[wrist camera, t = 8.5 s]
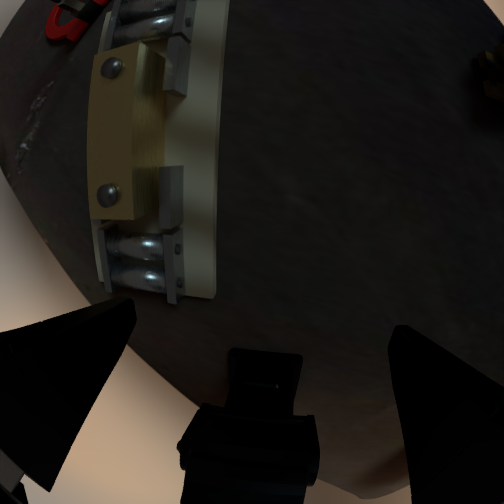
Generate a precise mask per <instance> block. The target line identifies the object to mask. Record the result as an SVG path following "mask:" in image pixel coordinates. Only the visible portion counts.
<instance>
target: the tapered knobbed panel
mask: <svg viewBox="0 0 504 504" xmlns="http://www.w3.org/2000/svg"><path fill="white" fill-rule="evenodd" d="M165 62H166V58H164V57H163V56H161V55H160V54H158V53H157V52H155V51H154V50H152V49H151V48H149V47H148V46H146V45H145V44H143V43H142V42H140V41H139V42H135V43H132V44H128V45H125V46H121V47H118V48H115V49H112V50H108V51H105V52H103V53H100V54H97V55H95V56H94V63H93V69H92V77H91V86H90V96H89V108H88V126H87V178H88V197H89V210H90V219H112V220H135V219H137V218H140V217H142V216H144V215H146V214H148V213H151V212H153V211H155V210H158V209H159V167H162V166H165V117H166V98H167V92H164V91H163V80H164V70H165Z"/></svg>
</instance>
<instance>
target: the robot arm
mask: <svg viewBox="0 0 504 504" xmlns="http://www.w3.org/2000/svg"><path fill="white" fill-rule="evenodd" d="M136 321H137V317H136V311H135V305H134V301H133V299H132V298H131V297H126V296H120V297H117V298H114V299H110V300H107V301H104V302H101V303H98V304H95V305H91V306H89V307H85V308H82V309H79V310H76V311H72V312H69V313H66V314H63V315H60V316H57V317H53V318H50V319H47V320H44V321H43V322H38V323H34V324H31V325H27V326H24V327H21V328H17V329H13V330H9V331H5V332H0V504H28V500H27V496H26V493H25V489H24V485H23V484H22V483H21V482H20V480H21V479H22V477H23V475H24V474H25V475H26V476H28V477H29V478H30V479H32V480H33V481H34V482H35V483H37V484H38V485H39V486H41V487H42V488H44V489H45V490H46V491H48V492H50V491H51V489H52V487H53V485H54V483H55V480H56V478H57V476H58V474H59V471H60V469H61V467H62V465H63V463H64V461H65V459H66V457H67V455H68V453H69V451H70V449H71V446H72V444H73V442H74V440H75V438H76V436H77V434H78V432H79V431H80V429H81V427H82V425H83V423H84V421H85V419H86V417H87V415H88V413H89V411H90V410H91V408H92V406H93V404H94V402H95V401H96V399H97V397H98V395H99V393H100V392H101V390H102V388H103V386H104V384H105V383H106V381H107V379H108V377H109V375H110V374H111V372H112V371H113V369H114V367H115V365H116V364H117V362H118V360H119V358H120V357H121V355H122V352H123V351H124V348H125V346H126V344H127V342H128V340H129V337H130V335H131V333H132V331H133V329H134V327H135V325H136ZM234 353H237V354H234ZM388 356H389V363H390V370H391V378H392V385H393V390H394V395H395V399H396V404H397V408H398V413H399V418H400V423H401V428H402V433H403V439H404V445H405V451H406V457H407V464H408V471H409V479H410V488H411V495H412V496H411V500H412V504H504V387H503V386H501V385H500V384H498V383H496V382H495V381H493V380H491V379H490V378H488V377H487V376H485V375H484V374H482V373H481V372H479V371H478V372H477V370H476V369H475V368H473V367H472V366H470V365H468V364H467V363H465V362H464V361H462V360H461V359H459V358H458V357H456V356H455V355H453V354H452V353H450V352H449V351H447V350H445V349H444V348H442V347H441V346H439V345H438V344H436V343H435V342H433V341H431V340H430V339H428V338H427V337H425V336H424V335H422V334H420V333H419V332H417V331H416V330H414V329H413V328H411V327H409V326H408V325H397V326H396V327H395V328H394V331H393V334H392V336H391V339H390V342H389V345H388ZM296 359H298V361H296ZM302 363H303V357H302V356H301V355H298V354H286V353H275V352H265V351H256V350H248V349H240V348H232V349H231V350H230V354H229V393H228V396H227V400H226V403H225V407H218V406H212V405H210V404H208V403H203V404H202V405H201V407H200V409H199V410H197V412H196V414H195V416H194V417H193V419H192V421H191V422H190V424H189V426H188V427H187V429H186V431H185V433H184V434H183V436H182V439H181V440H180V441H179V442H178V444H177V450H178V451H179V453H180V467H181V469H182V470H185V478H184V486H183V492H182V496H181V500H180V504H303V503H304V497H305V492H306V487H307V486H313V485H314V483H315V481H316V478H317V474H318V469H319V461H320V448H319V441H318V435H317V429H316V424H315V418H314V415H307V416H296V415H293V405H294V398H295V394H296V390H297V386H298V381H299V377H300V372H301V368H302Z"/></svg>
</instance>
